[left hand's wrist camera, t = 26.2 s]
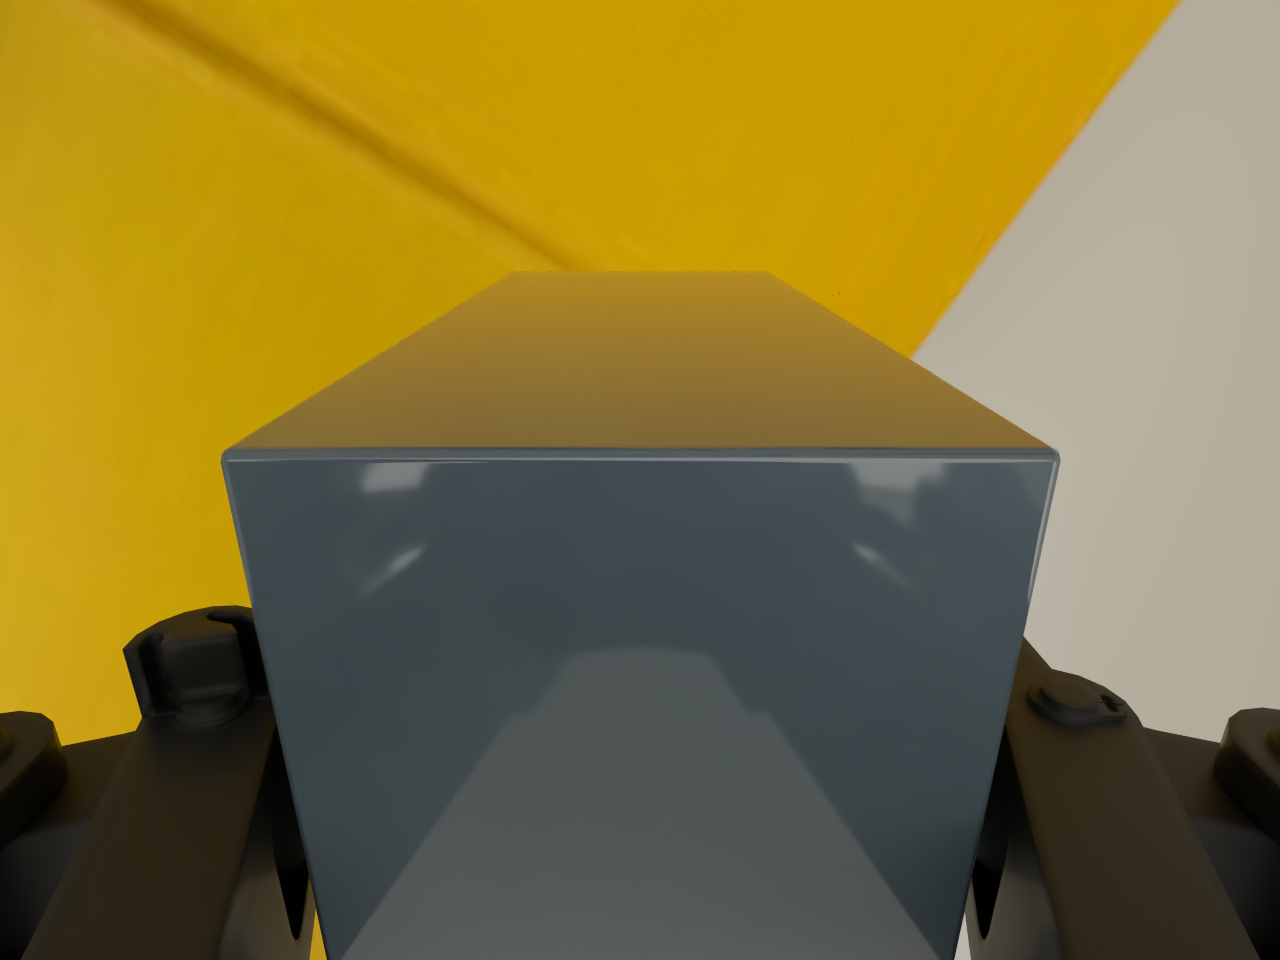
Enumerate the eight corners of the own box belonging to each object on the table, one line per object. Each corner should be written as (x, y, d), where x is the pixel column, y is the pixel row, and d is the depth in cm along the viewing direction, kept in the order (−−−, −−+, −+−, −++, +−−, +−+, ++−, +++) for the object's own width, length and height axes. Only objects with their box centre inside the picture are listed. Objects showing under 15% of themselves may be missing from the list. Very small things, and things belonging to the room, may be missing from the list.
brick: (531, 623, 19) (380, 1225, 8) (510, 271, 16) (211, 449, 5) (748, 622, 19) (901, 1225, 8) (769, 271, 16) (1070, 450, 5)
